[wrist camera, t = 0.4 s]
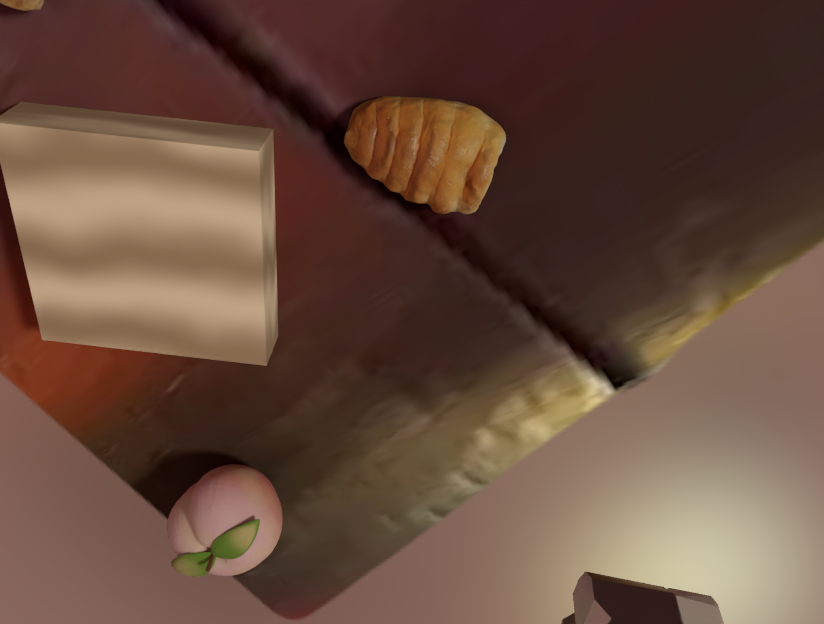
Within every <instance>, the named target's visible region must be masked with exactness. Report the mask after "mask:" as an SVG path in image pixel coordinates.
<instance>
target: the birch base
mask: <svg viewBox="0 0 824 624" xmlns="http://www.w3.org/2000/svg"><path fill="white" fill-rule="evenodd" d="M0 164H1V168H2V172H3V176H4V180H5V185H6V189H7V193H8V197H9V202H10V206H11V210H12V214H13V218H14V223H15V227H16V231H17V235H18V240H19V244H20V248H21V252H22V256H23V261H24V265H25V269H26V273H27V278H28V282H29V286H30V290H31V294H32V299H33V303H34V307H35V311H36V316H37V320H38V324H39V328H40V332H41V337H42V340H49V341H58V342H66V343H75V344H84V345H92V346H101V347H109V348H118V349H127V350H135V351H144V352H153V353H161V354H170V355H178V356H187V357H196V358H204V359H213V360H222V361H230V362H239V363H247V364H256V365H265V366H267V363H268V361H269V358H270V355H271V353H272V350H273V348H274V345H275V343H276V340H277V337H278V315H277V273H276V231H275V189H274V146H273V129H268V128H259V127H250V126H240V125H231V124H222V123H212V122H203V121H194V120H185V119H175V118H166V117H157V116H148V115H138V114H129V113H120V112H111V111H101V110H92V109H83V108H74V107H64V106H55V105H46V104H36V103H27V102H20V103H18V104H17V105H15V106H14V107H12V108H11V109H9V110H8V111H6V112H5V113H3V114H2V115H0Z"/></svg>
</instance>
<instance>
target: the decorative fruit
mask: <svg viewBox="0 0 824 624" xmlns="http://www.w3.org/2000/svg"><path fill="white" fill-rule="evenodd" d="M281 530H282V509H281V504H280V501H279V498H278V496H277V493H276V491H275V489H274V487H273V485H272V484H271V482H270V481H269V480H268V479H267V477H266V476H265V475H263V474H262V473H261V472H260V471H258V470H256V469H255V468H252V467H249V466H246V465H238V464H231V465H224V466H220V467H218V468H215V469H213V470H211V471H209V472H208V473H206V474H205V475H204V476H203V477H202V478H201V479H200V481H198V482H196V483H195V484H193V485H192V486H191V487H190V488H189V489H188V490H187V491H186V492H185V493H184V494H183V495H182V496H181V497H180V498H179V500H178V501H177V502H176V504H175V505H174V507H173V508H172V510H171V512H170V515H169V518H168V522H167V531H168V538H169V541H170V544H171V546H172V548H173V550H174V551H175V553H176V554H177V555H178V557H177V558H175V559H174V560H173V561H172V562H171V565H172V567H173V568H174V569H175V570H176V571H177V572H179V573H180V574H183V575H186V576H192V577H195V576H202V575H205V574H207V573H210V574H214V575H220V576H232V575H237V574H241V573H244V572H246V571H248V570H250V569H252V568H253V567H255V566H256V565H258V564H259V563H260V562H262V561H263V560H264V559H265V558H266V557H267V556H269V554H270V553H271V552H272V551H273V549H274V547H275V546H276V544H277V542H278V539H279V537H280V534H281Z"/></svg>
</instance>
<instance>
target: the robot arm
mask: <svg viewBox="0 0 824 624" xmlns="http://www.w3.org/2000/svg"><path fill="white" fill-rule="evenodd" d="M573 600H574V610H575V613H573V614H572V615H570V616H568V617H566V618H564V619H563V620H562V623H561V624H724V623H723V620H722V616H721V613H720V610H719V607H718V604H717V603H716V601H715V600H714V599H713V598H712V597H711V596H707V595H702V594H697V593H692V592H687V591H682V590H677V589H672V588H668V589H666V588H664V587H660V586H655V585H650V584H645V583H640V582H635V581H630V580H625V579H620V578H614V577H610V576H605V575H600V574H595V573H590V572H584V574H583V575H582V576H581V577H580V578H579V580H578V583H577V585H576V588H575V590H574V592H573Z"/></svg>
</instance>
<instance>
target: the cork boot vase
mask: <svg viewBox="0 0 824 624" xmlns="http://www.w3.org/2000/svg"><path fill="white" fill-rule="evenodd" d="M0 3H1V4H3V5H6V6H9V7H11V8H14V9H17V10H22V11H28V10H33V9H37V10H40V9H41V7H42V5H43V3H44V0H0Z"/></svg>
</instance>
